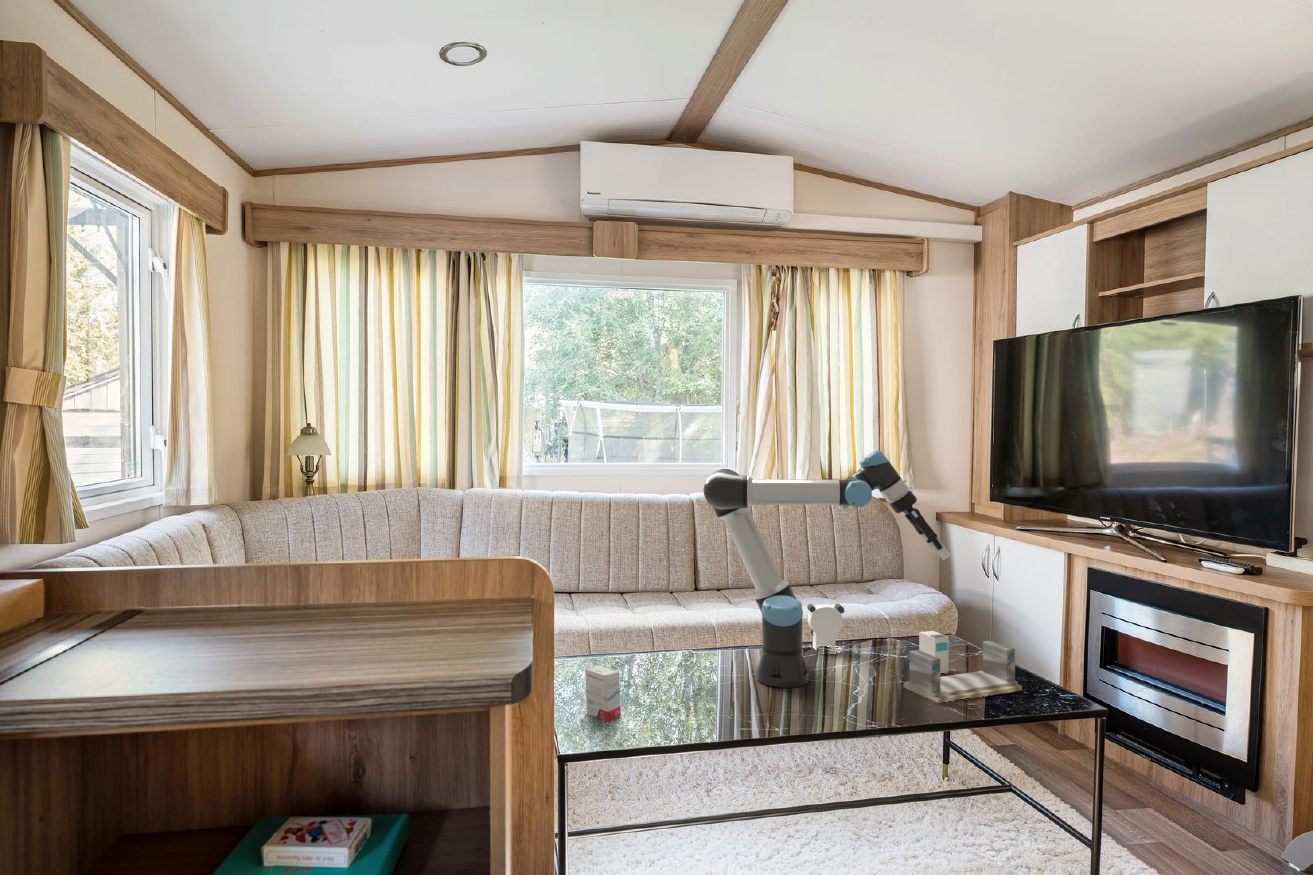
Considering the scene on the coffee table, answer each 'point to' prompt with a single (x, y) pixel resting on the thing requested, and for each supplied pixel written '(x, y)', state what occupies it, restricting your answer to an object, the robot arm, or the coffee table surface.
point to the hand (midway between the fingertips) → (941, 554)
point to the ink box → (602, 693)
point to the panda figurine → (825, 624)
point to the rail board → (964, 676)
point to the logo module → (935, 647)
